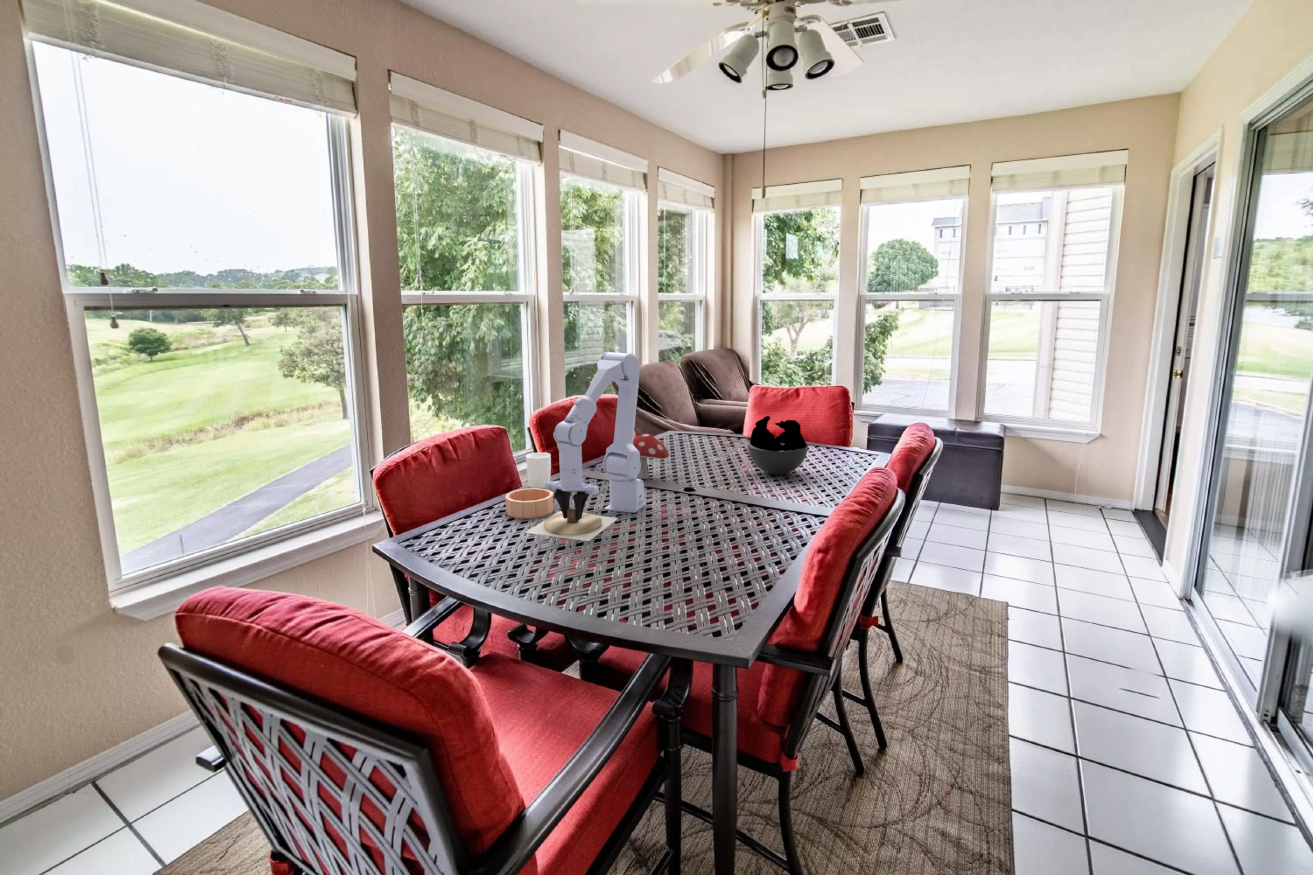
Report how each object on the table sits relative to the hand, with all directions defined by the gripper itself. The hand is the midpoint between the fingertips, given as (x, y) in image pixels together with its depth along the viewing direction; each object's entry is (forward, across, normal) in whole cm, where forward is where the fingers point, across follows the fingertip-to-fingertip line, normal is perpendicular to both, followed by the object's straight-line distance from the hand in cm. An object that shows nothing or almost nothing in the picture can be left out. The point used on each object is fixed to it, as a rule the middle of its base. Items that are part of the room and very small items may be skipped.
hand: (572, 518), depth 170 cm
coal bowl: (+3, +41, +70) cm, 81 cm away
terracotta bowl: (+2, -17, +7) cm, 19 cm away
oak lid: (+2, 0, 0) cm, 2 cm away
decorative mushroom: (+3, +1, +50) cm, 50 cm away
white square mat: (+2, 0, 0) cm, 2 cm away
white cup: (+3, -28, +31) cm, 42 cm away
